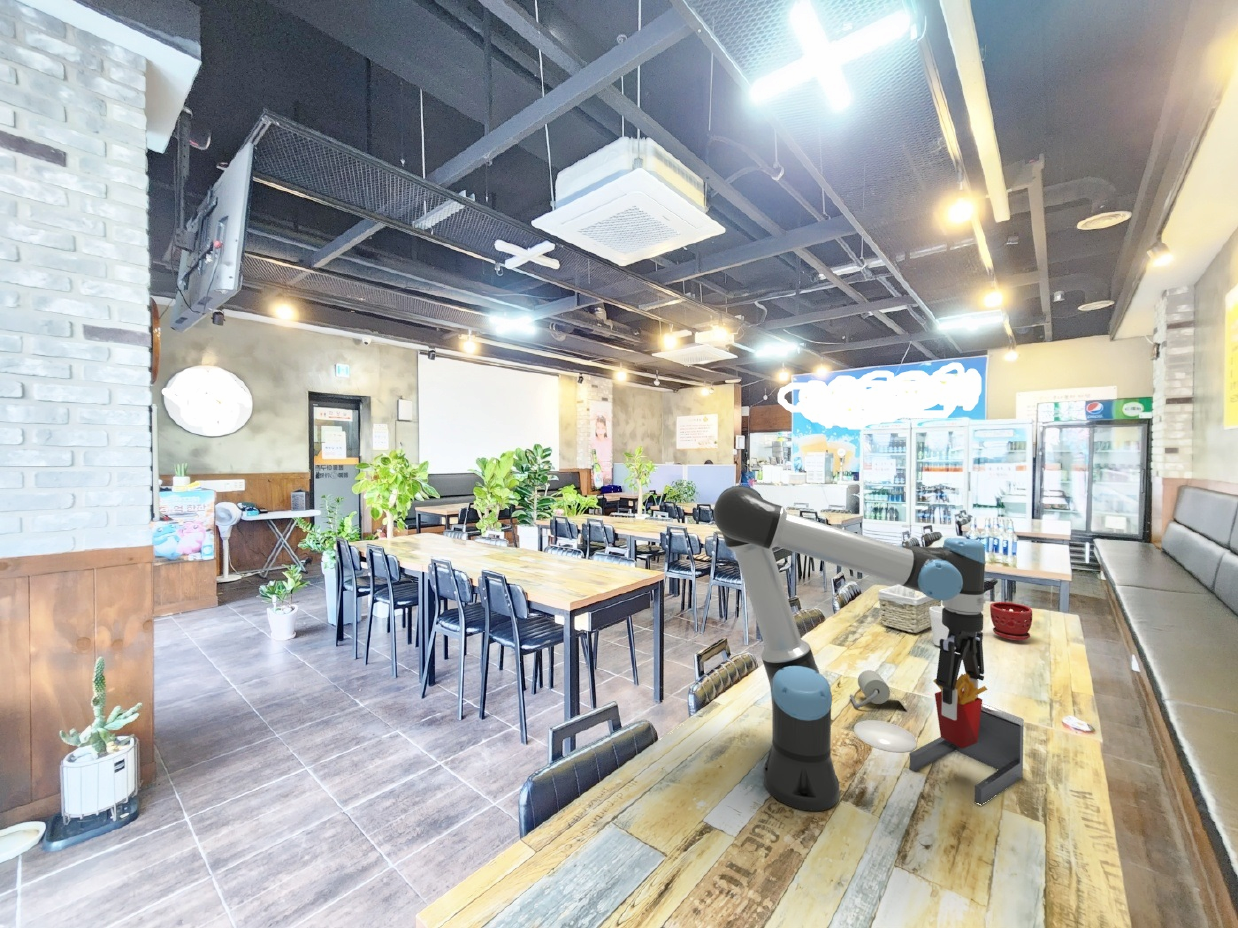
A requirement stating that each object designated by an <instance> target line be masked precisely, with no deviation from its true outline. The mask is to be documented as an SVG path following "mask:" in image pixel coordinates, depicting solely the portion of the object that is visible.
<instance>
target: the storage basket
mask: <svg viewBox="0 0 1238 928" xmlns="http://www.w3.org/2000/svg"><path fill="white" fill-rule="evenodd" d="M915 593H916V590H913V589H910V588H907V587H904V586H902V585H899V584H896V585H892V586H888V587H885V588H882V589H879V590H878V596H877V597H878V601H879V609H880V617H881V624H882V625H884V626H887V627H891V628H895V629H897V630H900V631H904V632H905V631H906V632H908V633H915V634H917V633H920V632H923V630H926V629H928V628H932V627H931V620H930V615H929V608H930V607H934V606H939V607H942V601H940V600H935V599H933V598H930V597H928V596H926V595H925V594H923V595H917V594H915Z"/></svg>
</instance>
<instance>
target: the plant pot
mask: <svg viewBox="0 0 1238 928" xmlns="http://www.w3.org/2000/svg"><path fill="white" fill-rule="evenodd" d="M989 609H990V611H989V612H990V618H991V622H992V624H993V626H994V627H992V631H993V633H994V634H995V635H997V636H998V637H1000V638H1003V639H1007V640H1011V641H1022V642H1023V641H1025V640H1028V639H1030V637H1031V633H1030V632H1029V631H1030V630H1031V627H1032V622H1033V609H1032V608H1031V607H1029V606H1027V605H1023V604H1019V603H1013V602H1005V601H999V602H998V601H996V602H992V603H990V604H989Z"/></svg>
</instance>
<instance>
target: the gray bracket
mask: <svg viewBox="0 0 1238 928" xmlns="http://www.w3.org/2000/svg"><path fill="white" fill-rule="evenodd" d="M1024 722H1025V721H1024V718H1023V717H1019V716H1017V715H1014V714H1011V713H1008V712H1006V711H1005V710H1001V709H997V708H995V707H993V706H991V705H987V704H984V703H982V708H981V716H980V724H979V732H978V740H977V743H975V744H973V745H970V746H968V747H966V748H963V749H962V748H960V747H958V746H957V745H955V744H953V743H951V742H949V741H947V740H945V739H943V738H942V737H941V736H940V737H938V738H936V739H934V740H932V741H931V742H928V743H926V744H925V745H923V746H921V747H919V748H917V749H914V750H913V751H910V753H909V770H911V771H914V772H917V771H919V770H921V769H923V768H925V767H926V766H929V764H932V763H934V762H935V761H937V760H938V759H941V758H943V757H945V756H947V755H949V754H950V753H952V752H958V753H960V754H962V755H964V756H966V757H968V758H970V759H973V760H975V761H978V762H980V763H982V764H984V765H986V766H988V767H990V766H991V768H992V767H993V769H995V770H996V771H995V772H994V773H993V772H992V774H990V775H989V776H988V777H986V778H983V780H982V781H980V782H978V783H977V784H975V785H974V803H975V802H976V803H979V804H981V805H982V804H983V803H985V802H987V801H988V800H990V799H991V798H993V797H994V796H995V795H997V796H998V795H1000V794H1002V793H1003V792H1004V791H1005V789H1006V788H1007V789H1009V788H1010V787H1012V786H1013V785H1014V784H1016V783H1017V782H1019V781H1020V780H1022V779H1023V778H1024V777H1023V775H1024V772H1023V771H1024V730H1025V729H1024V727H1025V726H1024ZM997 769H998V770H997ZM1007 789H1006V790H1007ZM1002 791H1003V792H1002ZM999 793H1000V794H999ZM994 798H995V797H994ZM994 798H993V799H994ZM991 800H992V799H991ZM991 800H990V801H991ZM988 802H989V801H988ZM988 802H987V803H988ZM976 803H975V804H976ZM985 804H986V803H985ZM982 806H983V805H982Z"/></svg>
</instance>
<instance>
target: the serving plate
mask: <svg viewBox="0 0 1238 928" xmlns="http://www.w3.org/2000/svg"><path fill="white" fill-rule="evenodd" d="M853 728H854V729H853V732H854V735H855V736H856V737H857V738H858V739H859V740H860V741H861V742H863V743H865V744H866V745H868V746H871V747H873V748H875V749H878V750H881V751H885V752H890V753H899V754H900V753H909V752H910V753H911V752H913V751H915V750H916V748H917V746H918V741H917V739H916V737H915V736H914V734H913V733H911V732H910V731H908V730H907V729H906V728H903V727H901V726H900V725H897V724H894V723H891V722H888V721H882V720H876V719H875V720H874V719H868V720H866V719H865V720H862V721H859V722H857V723H855V725H854V727H853Z"/></svg>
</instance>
